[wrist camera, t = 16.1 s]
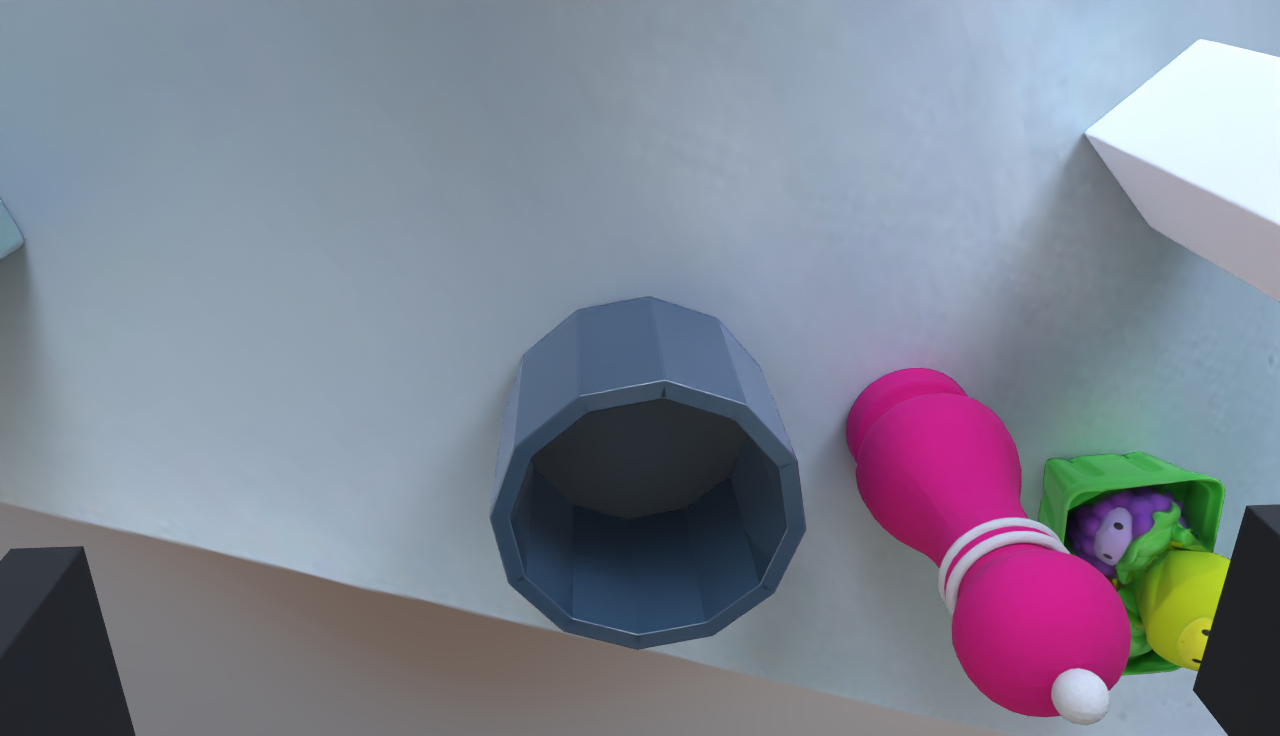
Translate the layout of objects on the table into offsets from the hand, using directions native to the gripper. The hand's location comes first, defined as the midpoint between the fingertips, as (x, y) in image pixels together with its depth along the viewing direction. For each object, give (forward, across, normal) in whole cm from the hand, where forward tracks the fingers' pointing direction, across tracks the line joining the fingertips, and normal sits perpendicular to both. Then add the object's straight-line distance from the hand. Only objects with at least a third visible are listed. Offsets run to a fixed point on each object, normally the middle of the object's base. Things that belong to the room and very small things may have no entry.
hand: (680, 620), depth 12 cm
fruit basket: (+35, +26, -23) cm, 49 cm away
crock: (+35, +2, -16) cm, 38 cm away
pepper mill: (+35, +15, -16) cm, 41 cm away
